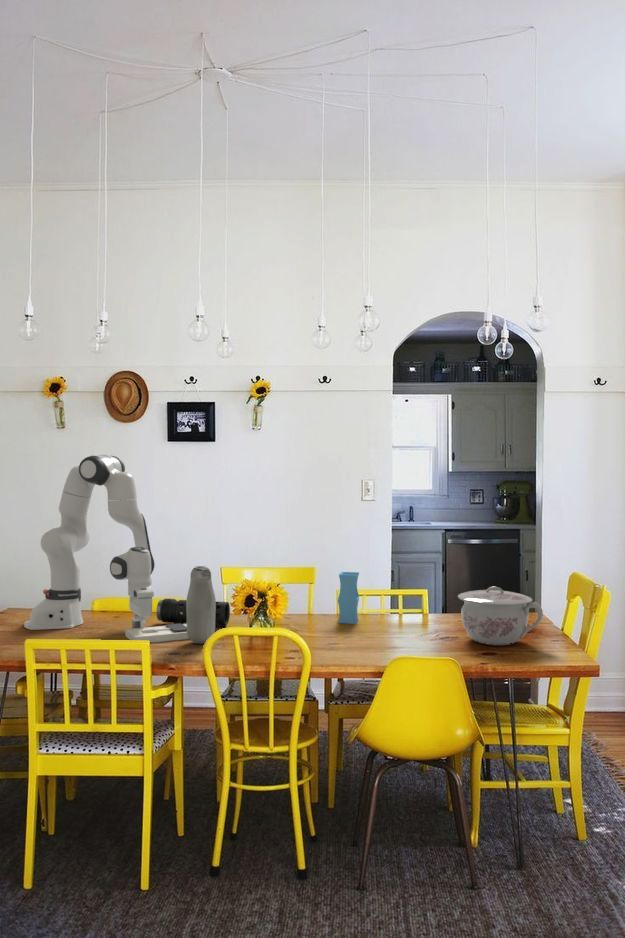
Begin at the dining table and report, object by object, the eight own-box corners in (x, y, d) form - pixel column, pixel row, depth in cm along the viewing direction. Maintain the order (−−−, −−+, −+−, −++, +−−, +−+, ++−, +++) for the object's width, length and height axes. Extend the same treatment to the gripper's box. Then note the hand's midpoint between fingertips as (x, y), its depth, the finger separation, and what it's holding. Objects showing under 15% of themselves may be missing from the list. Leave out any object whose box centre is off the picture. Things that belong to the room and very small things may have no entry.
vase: (356, 623, 332) (357, 575, 331) (337, 623, 333) (338, 574, 332) (358, 620, 339) (359, 572, 339) (339, 619, 341) (340, 571, 340)
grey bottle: (220, 642, 297) (220, 565, 296) (201, 647, 288) (202, 569, 287) (199, 638, 302) (200, 563, 301) (180, 644, 293) (181, 566, 293)
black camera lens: (223, 629, 318) (224, 603, 318) (155, 626, 322) (155, 600, 322) (230, 624, 328) (230, 599, 327) (163, 621, 332) (163, 596, 331)
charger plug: (134, 634, 308) (134, 618, 308) (132, 631, 312) (132, 616, 312) (145, 633, 310) (145, 617, 310) (142, 630, 314) (142, 615, 314)
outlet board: (134, 644, 292) (135, 634, 292) (125, 635, 305) (125, 627, 305) (198, 638, 303) (198, 629, 303) (187, 630, 316) (187, 621, 315)
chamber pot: (443, 636, 312) (444, 582, 311) (504, 631, 321) (505, 579, 321) (483, 653, 285) (484, 594, 285) (548, 647, 295) (549, 591, 295)
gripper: (125, 586, 318) (125, 622, 319) (138, 594, 300) (138, 631, 300) (141, 585, 321) (141, 620, 321) (155, 593, 303) (155, 630, 303)
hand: (140, 626), depth 311 cm, fingers open, 5 cm apart
